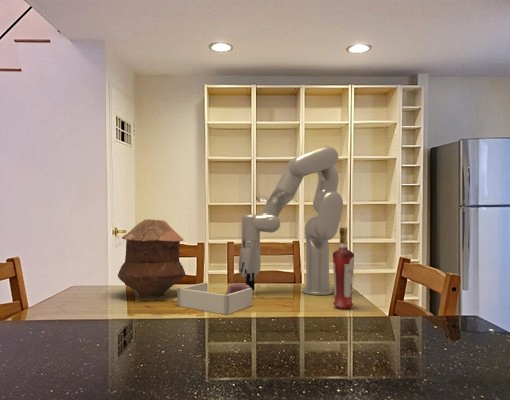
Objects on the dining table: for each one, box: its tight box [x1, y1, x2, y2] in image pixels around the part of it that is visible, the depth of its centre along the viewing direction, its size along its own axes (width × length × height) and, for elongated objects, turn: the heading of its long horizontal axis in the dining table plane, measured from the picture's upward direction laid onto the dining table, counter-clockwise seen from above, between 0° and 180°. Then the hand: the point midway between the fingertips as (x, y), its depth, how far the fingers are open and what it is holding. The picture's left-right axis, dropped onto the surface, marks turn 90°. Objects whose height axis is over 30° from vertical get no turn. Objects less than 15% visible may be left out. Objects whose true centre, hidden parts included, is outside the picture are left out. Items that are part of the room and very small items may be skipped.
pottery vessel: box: [117, 219, 186, 298], centre depth 156 cm, size 26×26×30 cm
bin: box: [176, 282, 253, 316], centre depth 138 cm, size 15×21×6 cm
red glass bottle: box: [332, 226, 355, 310], centre depth 137 cm, size 7×7×28 cm
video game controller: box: [224, 282, 251, 295], centre depth 150 cm, size 10×5×7 cm, turn 71°
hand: (250, 290), depth 158 cm, fingers closed
